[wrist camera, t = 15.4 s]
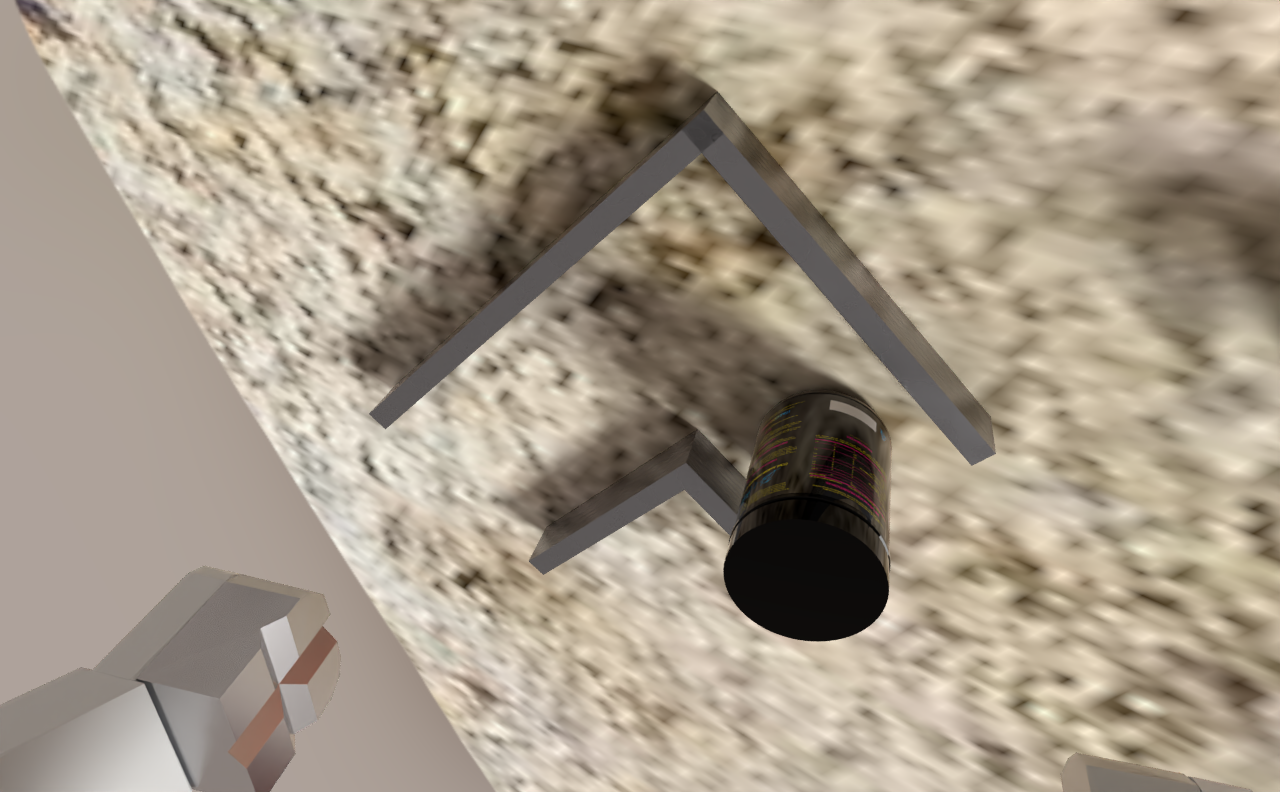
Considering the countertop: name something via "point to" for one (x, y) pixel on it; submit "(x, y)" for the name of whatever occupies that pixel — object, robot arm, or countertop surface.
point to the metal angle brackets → (695, 456)
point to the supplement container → (814, 520)
